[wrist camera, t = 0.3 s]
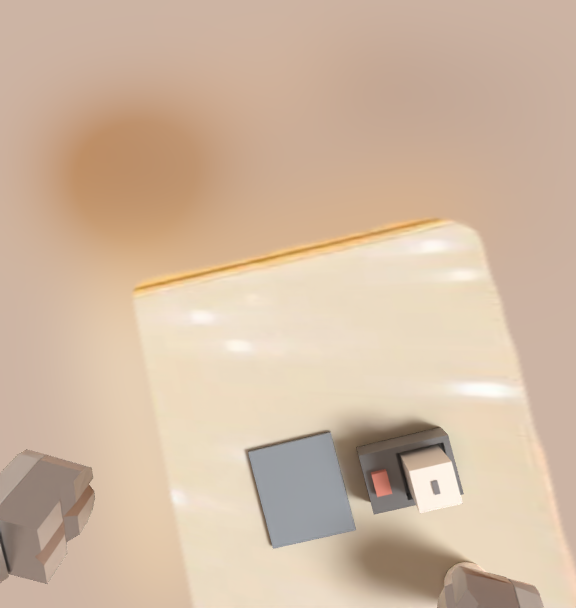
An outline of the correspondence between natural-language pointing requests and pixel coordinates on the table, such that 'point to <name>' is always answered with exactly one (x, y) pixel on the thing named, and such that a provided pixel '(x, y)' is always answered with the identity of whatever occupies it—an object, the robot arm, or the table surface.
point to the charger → (430, 478)
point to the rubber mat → (301, 490)
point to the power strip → (397, 468)
